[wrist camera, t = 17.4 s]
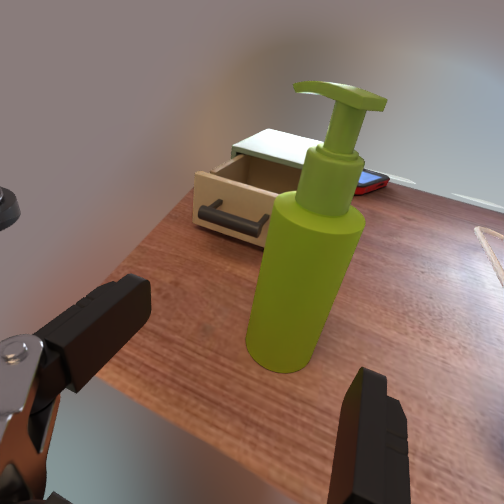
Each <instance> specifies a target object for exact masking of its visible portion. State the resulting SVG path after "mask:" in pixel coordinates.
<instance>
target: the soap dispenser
mask: <svg viewBox="0 0 504 504" xmlns="http://www.w3.org/2000/svg"><path fill="white" fill-rule="evenodd" d="M293 86H294V90H295V92H298V93H307V94H317V95H323V96H326V97H328V98H331V99H333V100H336V102H335V105H334V109H333V113H332V116H331V120H330V124H329V127H328V131H327V135H326V138H325V142H324V143H319V144H317V146H312V147H309V148H308V150H307V152H306V156H305V160H304V164H303V168H302V172H301V176H300V180H299V184H298V188H297V191H289V192H285V193H282V194H280V195H278V196H277V197H276V198H275V200H274V205H273V210H272V214H271V219H270V224H269V229H268V233H267V238H266V243H265V248H264V253H263V257H262V262H261V267H260V272H259V276H258V281H257V286H256V291H255V296H254V300H253V305H252V310H251V315H250V319H249V324H248V329H247V334H246V346H247V349H248V352H249V353H250V355H251V356H252V358H253V359H254V360H255V361H256V362H257V363H258V364H260V365H261V366H263V367H264V368H266V369H268V370H271V371H274V372H278V373H292V372H296V371H298V370H300V369H302V368H303V367H305V366H306V365H307V364H308V362H309V361H310V359H311V356H312V354H313V351H314V349H315V346H316V344H317V342H318V339H319V337H320V334H321V332H322V329H323V327H324V325H325V322H326V320H327V317H328V315H329V312H330V310H331V307H332V305H333V303H334V300H335V298H336V295H337V293H338V290H339V288H340V285H341V283H342V281H343V278H344V276H345V273H346V271H347V268H348V266H349V263H350V261H351V259H352V256H353V254H354V251H355V249H356V246H357V244H358V241H359V239H360V237H361V234H362V232H363V229H364V227H365V218H364V217H363V215H362V214H361V213H360V212H359V211H358V210H357V209H356V208H354V207H353V206H351V205H350V204H351V201H352V198H353V196H354V193H355V190H356V187H357V185H358V182H359V179H360V176H361V174H362V171H363V168H364V165H365V161H364V159H363V158H361V157H360V156H359V153H358V152H357V151H355V150H354V147H355V144H356V141H357V138H358V135H359V132H360V129H361V126H362V123H363V120H364V117H365V114H366V111H367V110H368V111H382V112H383V110H384V108H385V105H386V103H387V99H386V98H383V97H380V96H378V95H376V94H373V93H371V92H368V91H366V90H363V89H359V88H357V87H353V86H349V85H344V84H336V83H329V82H321V81H304V82H299V83H295V84H293Z"/></svg>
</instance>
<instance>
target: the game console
mask: <svg viewBox="0 0 504 504" xmlns="http://www.w3.org/2000/svg"><path fill="white" fill-rule="evenodd" d="M389 180H390V178H389V177H388V176H387V175H384V174H381V173H377V172H374V171H370V170H367V169H364V168H363V171H362V174H361V176H360V179H359V182H358V185H357V187H356V190H355V193H354V195H362V194H365V193H368V192H370V191H373V190H376V189H379V188H382V187H384V186H386V185H387V183H388V181H389Z"/></svg>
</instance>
